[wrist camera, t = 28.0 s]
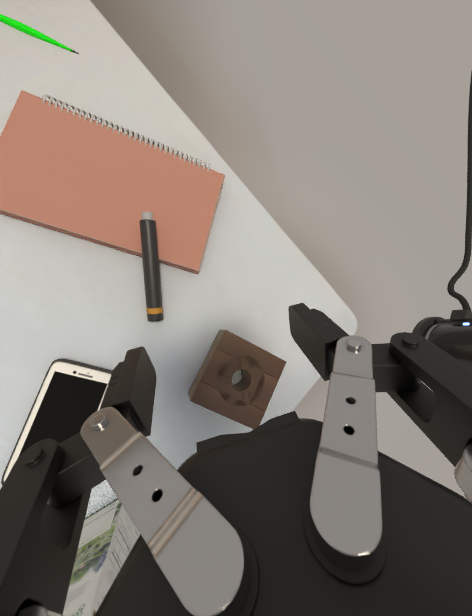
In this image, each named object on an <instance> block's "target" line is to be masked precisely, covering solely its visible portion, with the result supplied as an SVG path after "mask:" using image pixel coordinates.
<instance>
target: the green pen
mask: <svg viewBox="0 0 472 616" xmlns="http://www.w3.org/2000/svg"><path fill="white" fill-rule="evenodd" d="M0 21H2V22H4V23H5V24H8V25H10V26H12V27H14V28H16V29H18V30H20V31H22V32H25V33H27V34H29V35H32V36H34V37H37V38H39V39H42V40H44V41H47V42H49V43H52V44H54V45H57V46H59V47H62V48H65V49H67V50H70V51H73V50H72V49H70V48H68V47H66V46H64V45H62V44H61V43H59V42H57V41H55V40H53V39H51V38H49V37H48V36H46V35H44V34H42V33H40V32H38V31H36V30H35V29H33V28H31V27H29V26H26V25H24V24H22V23H20V22H18V21H16V20H13V19H11V18H9V17H6V16H4V15H1V14H0ZM73 52H75V51H73ZM76 53H77V52H76ZM78 54H79V53H78Z"/></svg>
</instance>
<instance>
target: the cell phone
mask: <svg viewBox="0 0 472 616" xmlns="http://www.w3.org/2000/svg"><path fill="white" fill-rule="evenodd" d="M111 374H112V371H109V370H106V369H102V368H98V367H94V366H90V365H86V364H82V363H78V362H74V361H70V360H65V359H58V360H55V361H53V362H52V364H51V366H50V367H49V369H48V371H47V373H46V376H45V378H44V380H43V383H44V384H43V383H42V385H41V387H40V390H41V391H40V390H39V392H38V394H37V397H38V398H37V397H36V399H35V401H34V404H33V406H32V408H31V411H30V413H29V415H28V418H27V420H26V422H25V425H24V427H23V429H22V432H21V434H20V436H19V438H18V441H17V443H16V445H15V448H14V450H13V452H12V455H11V457H10V459H9V462H8V464H7V466H6V469H5V471H4V473H3V477H2V481H1V483H2V485H3V484H4V482H5V480H6V478H7V476H8V475H9V473H10V471H11V469H12V467H13V465H14V464H15V462H16V460H17V459H18V458H19V457H20V456H21V454H22V453H24V452H25V451H26V450H27V449H28V448H29V447H31V446H32V445H34V444H35V443H37V442H39V441H41V440H44V439H49V438H50V439H54V440H55V441H56V442H57V443H58V444H60V443H62V442H64V441H65V440H67V439H69V438H71V437H73V436H74V435H76V434H78V433H80V432H81V428H82V426H83V424H84V422H85V421H86V420H87V419H88V418H89V417H90V416H91V415H92V414H93V413H95V412H96V411H98V410H99V409H100V406H101V403H102V400H103V397H104V394H105V392H106V389H107V387H108V383H109V380H110V377H111ZM44 381H45V382H44ZM41 388H42V389H41ZM38 395H39V396H38Z"/></svg>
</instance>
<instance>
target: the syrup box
mask: <svg viewBox="0 0 472 616" xmlns="http://www.w3.org/2000/svg"><path fill="white" fill-rule="evenodd" d="M139 535H140V532H139V531H138V529H137V527H136V526H135V524H134V523H133V521H132V519H131V518H130V516H129V515H128V513H127V511H126V510H125V508H124V507H123V505H122V504H121V502H120V500H119V499H117V500H115V501H114V502H112V503H111V504H109V505H107V506H106V507H104V508H102V509H101V510H99V511H98V512H96V513H95V514H93V515H91V516H90V517H88V518H86V519H85V520H84V524H83V528H82V533H81V537H80V541H79V546H78V550H77V554H76V559H75V563H74V567H73V572H72V576H71V580H70V585H69V589H68V593H67V598H66V602H65V607H64V611H63V615H64V616H94V615H95V613H96V612H97V610H98V608H99V606H100V605H101V603H102V601H103V599H104V597H105V596H106V594H107V592H108V590H109V589H110V587H111V585H112V583H113V581H114V580H115V578H116V576H117V574H118V573H119V571H120V569H121V567H122V566H123V564H124V562H125V560H126V558H127V557H128V555H129V553H130V551H131V550H132V548H133V546H134V544H135V542H136V541H137V539H138V537H139Z"/></svg>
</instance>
